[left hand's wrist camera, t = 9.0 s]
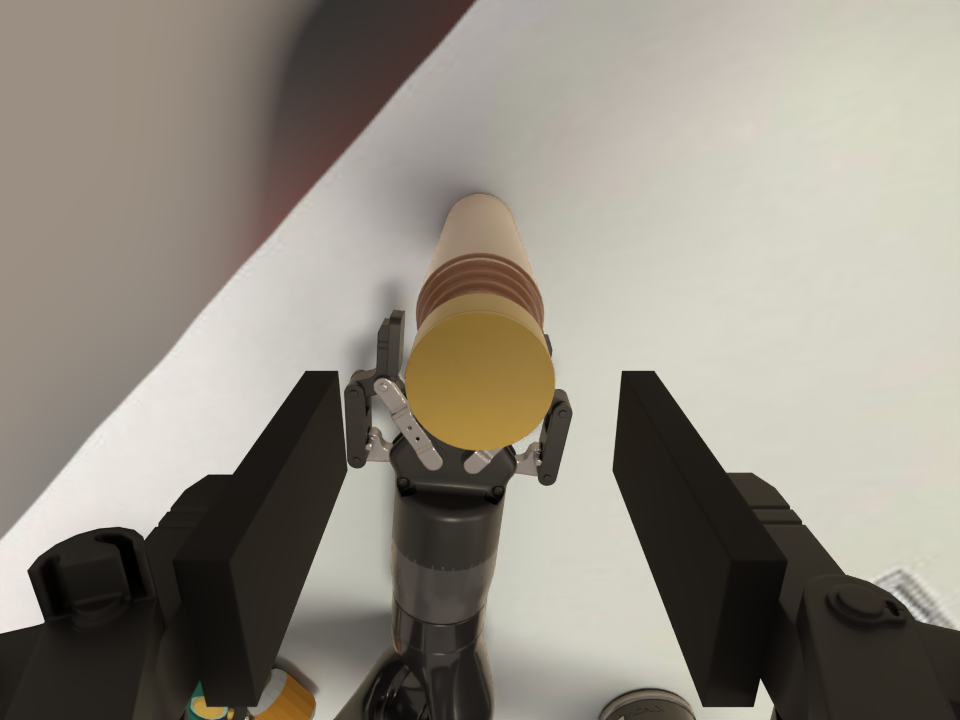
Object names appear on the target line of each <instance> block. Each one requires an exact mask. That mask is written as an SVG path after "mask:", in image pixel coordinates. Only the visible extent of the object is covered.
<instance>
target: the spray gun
mask: <svg viewBox="0 0 960 720" xmlns="http://www.w3.org/2000/svg"><path fill="white" fill-rule="evenodd" d="M186 708H187V712H188V716H189V720H244V719H245V717H246V715H247V716H249V717H250V719H249V720H254V719H255V718H256V719H257V720H312V719H313V717H314V715H315V710H316V701H315V698H314V696H313V695H311V694H310V693H309V692H308V691H307V690H306V689H305V688H303V687H302V686H301V685H300V684H299V683H298V682H297V681H296V680H294V679H293V678H292V677H291V676H290V675H289V674H288V673H286V672H284V671H282V670H280V669H277V668H276V669H272V670H271V672H270V674H269V677H268V679H267V682H266V685H265V687H264V690H263V693H262V695H261V698H260V700H259V703H258V706H257V707H206V703H205V699H204V694H203V690H202V686H201V682H200V681H199V683H198V685H197V687H196V689H195V691H194V693H193V695H192V697H191V699H190V701H189V703H188V705H187V707H186ZM247 709H248V710H247Z"/></svg>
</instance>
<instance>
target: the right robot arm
mask: <svg viewBox="0 0 960 720" xmlns="http://www.w3.org/2000/svg"><path fill="white" fill-rule="evenodd" d="M404 324H405V311H400V310H393V312H392V314H391V316H390V319H389V318H385V319H384V321H383V323H382V325H381V327H380V329H379V332H378V343H377V367H376V368H375V369H372V370H369V371H364V370H357V371H355V372H354V373H353V375H352V377H351V381H350V382H349V384H348V385H347V387H346V389H345V391H344V398H345V419H346V441H347V461H348V463H349V465H350V466H351V467H353V468H361V467H363V466H364V465H365V463H366V461H380V462H390V463H391V465H392V467H393V468H394V471H395V474H396V483H395V500H394V517H393V533H392V551H391V572H392V580H393V594H392V610H391V638H392V643H393V646H391V647H390V648H388V649H387V650H386V651H385V652H384V653H383V654H382V656H381V657H380V658H379V659H378V660H377V662H376V663H375V665H374V666H373V668H372V669H371V670H370V672H369V673H368V675H367V676H366V678H365V679H364V681H363V682H362V684H361V685H360V686H359V688H358V689H357V690H356V692H355V693H354V694H353V696H352V697H351V698H350V699H349V701H348V702H347V703H346V704H345V706H344V707H343V708H342V709H341V711H340V712H339V713H338V714H337V716H336V717H335V718H334V719H333V720H493V716H494V690H493V683H492V677H491V672H490V667H489V661H488V656H487V650H486V645H485V641H484V637H483V633H482V631H483V625H484V617H485V609H486V602H487V596H488V591H489V588H490V585H491V582H492V579H493V575H494V569H495V564H496V556H497V549H498V542H499V535H500V528H501V521H502V514H503V507H504V499H505V492H506V486H507V483H508V481H509V480H510V478H511V477H512V476H513V475H514V474H515V473H518V474H525V475H532V476H538V480H539V482H540V483H541V484H542V485H545V486H549V485H552V484H553V483H554V482H555V481H556V478H557V474H558V470H559V466H560V462H561V458H562V454H563V450H564V446H565V442H566V438H567V434H568V430H569V426H570V422H571V418H572V409H571V406H570V403H569V400H568V397H567V394H566V392H565V391H564V390H561V389H555V390H554V395H553V399H552V402H551V405H550V408H549V410H548V412H547V413H546V415H545V417H544V422H543V426H542V430H541V435H540V439H539V442H533V443H532V444H530V445H529V446H528V449H527V451H526V452H525V453H523V454H520V455H517V454H516V452H515V450H514V448H513V447H512V445H508V446H505V447H502V448H498V449H493V450H484V451H478V450H467V449H462V448H458V447H455V446H452V445H449V444H447V443H445V442H443V441H441V440H439V439H438V438H436V437H435V436H433V435H432V434H431V433H429V432H428V431H427V430H426V429H425V428H424V427H423V426H422V425H421V424H420V422H419V421H418V420H417V418H416V417H415V415H414V414H413V412H412V410H411V408H410V405H409V402H408V399H407V396H406V390H405V379H404V377H403V376H402V375H401V373H400V369H401V366H402V358H403V341H404ZM542 333H543V330H542ZM543 335H544V338H545V341H546V344H547V347H548V351H549V354H550V357H551V356H552V347H551V343H550V340H549V337H548V335H546V334H544V333H543ZM374 395H378V396H379V397H380V399H381V400H382V401H383V403H384V404H385V406H386V407H387V408H388V410H389V411H390V413H391V416H392V419H393V421H394V423H395V424H396V426H397V427H398V428H399V430H400V431H401V433H400V434H399V435H398V436H397V437H396V438H395V439H394V441H393V442H392V443H388V442H386V441H385V440H384V439H383V437H382V433H381V431H380V430H379V429H378V428H377V427H372V414H371V396H374ZM599 720H696V719H695V716H694V713H693V711H692V709H691V707H690V706H689V705H688V704H687V702H685V701H684V700H683V699H681V698H680V697H678V696H676V695H674V694H671V693H668V692H664V691H657V690H645V691H638V692H634V693H630V694H627V695H625V696H623V697H620V698H619V699H617V700H615V701H614V702H612V703H611V704H610V705H609V706H608V707H607V708H606V709H605V710H604V712H603V713H602V715H601V717H600V719H599Z"/></svg>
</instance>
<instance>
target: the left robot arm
mask: <svg viewBox="0 0 960 720" xmlns="http://www.w3.org/2000/svg"><path fill="white" fill-rule="evenodd" d="M346 473H347V460H346V450H345V439H344V429H343V418H342V408H341V397H340V387H339V376H338V371H305V373H304V374H303V376H302V377H301V379H300V380H299V381H298V383H297V384H296V386H295V387H294V388H293V390H292V391H291V393H290V394H289V396H288V397H287V398H286V400H285V401H284V403H283V404H282V405H281V407H280V408H279V410H278V411H277V412H276V414H275V415H274V417H273V418H272V420H271V421H270V422H269V424H268V425H267V427H266V428H265V429H264V431H263V432H262V434H261V435H260V437H259V438H258V439H257V441H256V442H255V444H254V445H253V446H252V448H251V449H250V451H249V452H248V454H247V455H246V456H245V458H244V459H243V461H242V462H241V463H240V465H239V466H238V468H237V469H236V471H235V472H234V473H233V475H207V476H206V477H204V478H203V479H201V480H200V481H198V482H196V483H195V484H193V485H192V486H190V487H189V488H187V489H186V490H185V491H184V492H183V493H182V495H181V496H180V497H179V498H178V499H177V501H176V502H175V503H174V504H173V506H172V507H171V510H170V512H167V513H166V514H165V516H164V517H163V518H162V519H161V521H160V522H159V525H158V527H155V528H154V529H153V530H152V532H151V533H150V534H149V535H148V537H147V538H146V539H145V540H144V538H143V536H141V535H140V534H139V533H138V532H136V531H135V530H133V529H127V528H122V527H111V528H100V529H96V530H92V531H88V532H85V533H81V534H78V535H75V536H73V537H71V538H69V539H67V540H64V541H62V542H60V543H58V544H56V545H54V546H53V547H52V548H50V549H49V550H47V551H46V552H45V553H43V554H42V555H41V556H39V557H38V558H37V559H36V561H35V562H34V563H33V564H32V566H31V567H30V568H29V569H28V570H27V572H28V574H29V577H30V580H31V583H32V586H33V589H34V592H35V594H36V597H37V600H38V603H39V606H40V609H41V612H42V614H43V617H44V620H45V622H44V623H43V624H40V625H36V626H32V627H28V628H23V629H19V630H15V631H10V632H6V633H2V634H0V720H189V716H188V712H187V708H186V707H187V705H188V703H189V701H190V699H191V697H192V695H193V693H194V691H195V689H196V687H197V685H198V683H199V681H200V682H201V686H202V690H203V694H204V699H205V703H206V707H257V706H258V703H259V700H260V698H261V695H262V693H263V690H264V687H265V685H266V682H267V679H268V677H269V674H270V672H271V669H272V666H273V664H274V661H275V659H276V656H277V653H278V651H279V648H280V646H281V643H282V640H283V638H284V635H285V632H286V630H287V627H288V625H289V622H290V619H291V617H292V614H293V612H294V609H295V606H296V604H297V601H298V598H299V596H300V593H301V591H302V588H303V585H304V583H305V580H306V578H307V575H308V572H309V570H310V567H311V565H312V562H313V559H314V557H315V554H316V551H317V549H318V546H319V544H320V541H321V538H322V536H323V533H324V531H325V528H326V525H327V523H328V520H329V518H330V515H331V512H332V510H333V507H334V504H335V502H336V499H337V497H338V494H339V491H340V489H341V486H342V484H343V481H344V478H345V476H346ZM613 473H614V476H615V478H616V481H617V484H618V486H619V489H620V491H621V494H622V497H623V499H624V502H625V504H626V507H627V510H628V512H629V515H630V517H631V520H632V523H633V525H634V528H635V531H636V533H637V536H638V538H639V541H640V544H641V546H642V549H643V551H644V554H645V557H646V559H647V562H648V565H649V567H650V570H651V572H652V575H653V578H654V580H655V583H656V585H657V588H658V591H659V593H660V596H661V598H662V601H663V604H664V606H665V609H666V612H667V614H668V617H669V619H670V622H671V625H672V627H673V630H674V632H675V635H676V638H677V640H678V643H679V645H680V648H681V651H682V653H683V656H684V659H685V661H686V664H687V666H688V669H689V672H690V674H691V677H692V679H693V682H694V685H695V687H696V690H697V692H698V695H699V698H700V700H701V703H702V706H703V707H754V703H755V699H756V694H757V690H758V686H759V682H760V678H761V680H762V682H763V684H764V686H765V688H766V690H767V692H768V694H769V696H770V698H771V700H772V702H773V704H774V708H773V712H772V716H771V719H770V720H960V631H957V630H952V629H948V628H943V627H939V626H935V625H930V624H926V623H922V622H919V621H916V620H915V619H914V618H913V616H912V615H911V613H910V612H909V610H908V609H907V608H906V606H905V605H904V604H902V603H901V602H900V601H899V600H898V599H896V598H895V597H894V596H893V595H891V594H890V593H889V592H887V591H885V590H883V589H882V588H880V587H878V586H876V585H874V584H872V583H870V582H868V581H865V580H862V579H858V578H855V577H852V576H849V575H845V573H844V572H843V571H842V570H841V568H840V567H839V566H838V565H837V564H836V562H835V561H834V560H833V559H832V557H831V556H830V555H829V554H828V552H827V551H826V550H825V549H824V547H823V546H822V545H821V544H820V543H819V541H818V540H817V539H816V538H815V536H814V535H813V534H812V533H811V531H810V530H809V529H808V528H807V527H806V525H802V520H801V519H800V518H799V517H798V515H797V514H796V513H795V512H794V511H793V510H790V506H789V504H788V503H787V502H786V501H785V499H784V498H783V497H782V496H781V495H780V493H779V492H778V491H777V490H776V488H774V487H773V486H771V485H770V484H768V483H767V482H765V481H764V480H762V479H761V478H759V477H758V476H756V475H755V474H753V473H726V472H725V471H724V469H723V468H722V466H721V465H720V463H719V462H718V461H717V459H716V458H715V456H714V455H713V454H712V452H711V451H710V449H709V448H708V446H707V445H706V444H705V442H704V441H703V439H702V438H701V437H700V435H699V434H698V432H697V431H696V429H695V428H694V427H693V425H692V424H691V422H690V421H689V420H688V418H687V417H686V415H685V414H684V412H683V411H682V410H681V408H680V407H679V405H678V404H677V403H676V401H675V400H674V398H673V397H672V395H671V394H670V393H669V391H668V390H667V388H666V387H665V386H664V384H663V383H662V381H661V380H660V379H659V377H658V376H657V374H656V373H655V371H622V376H621V387H620V397H619V408H618V418H617V429H616V439H615V450H614V460H613Z"/></svg>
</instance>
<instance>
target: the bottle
mask: <svg viewBox="0 0 960 720" xmlns="http://www.w3.org/2000/svg"><path fill="white" fill-rule="evenodd" d="M474 293H486V294H493V295H498V296H501V297H504V298H507V299H509V300H512V301H513V302H515V303H517V304H518V305H520V306H521V307H523V308H524V309H525V310H526V311H527V312H528V313H529V314H530V315H531V316H532V317H533V318H534V319H535V321H536V322H537V323H538V325H539V327H540V328H541V330H543V322H544V307H543V301H542V297H541V294H540V291H539V289H538V286H537V283H536V280H535V277H534V275H533V272H532V269H531V266H530V263H529V261H528V258H527V255H526V252H525V249H524V247H523V244H522V241H521V238H520V235H519V233H518V230H517V227H516V224H515V221H514V218H513V216H512V213H511V212H510V210H509V208H508V207H507V206H506V205H505V204H504V203H503V202H502V201H501V200H499V199H498V198H496V197H494V196H491V195H488V194H472V195H469V196H466V197H464V198H462V199H461V200H459V201H458V202H457V203H456V204H455V205H454V206H453V207H452V208H451V210H450V212H449V213H448V216H447V218H446V221H445V224H444V227H443V230H442V232H441V235H440V238H439V241H438V244H437V246H436V249H435V252H434V255H433V258H432V260H431V263H430V266H429V269H428V272H427V274H426V277H425V280H424V283H423V286H422V288H421V291H420V294H419V297H418V301H417V307H416V322H417V330H419V328H420V327H421V325H422V323H423V322H424V320H425V319H426V318H427V317H428V315H429V314H430V313H432V312H433V311H434V310H435V309H436V308H437V307H439V306H440V305H441V304H443V303H445V302H447V301H449V300H451V299H453V298H456V297H458V296H462V295H466V294H474Z"/></svg>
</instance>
